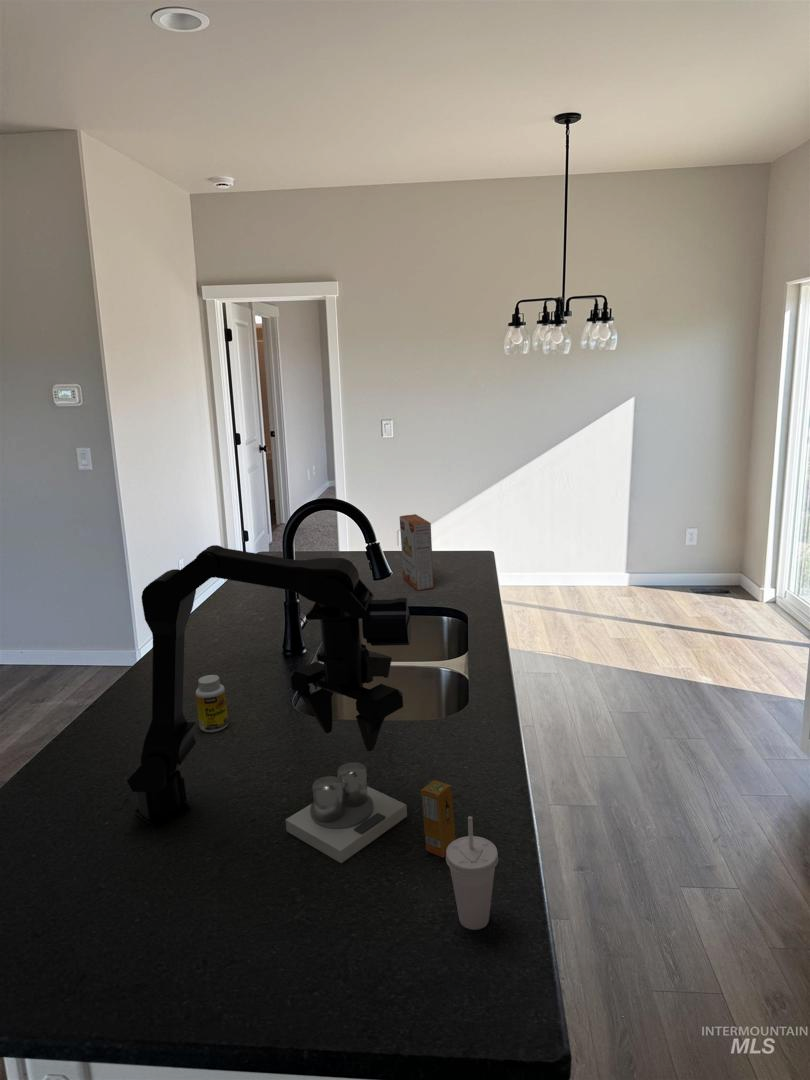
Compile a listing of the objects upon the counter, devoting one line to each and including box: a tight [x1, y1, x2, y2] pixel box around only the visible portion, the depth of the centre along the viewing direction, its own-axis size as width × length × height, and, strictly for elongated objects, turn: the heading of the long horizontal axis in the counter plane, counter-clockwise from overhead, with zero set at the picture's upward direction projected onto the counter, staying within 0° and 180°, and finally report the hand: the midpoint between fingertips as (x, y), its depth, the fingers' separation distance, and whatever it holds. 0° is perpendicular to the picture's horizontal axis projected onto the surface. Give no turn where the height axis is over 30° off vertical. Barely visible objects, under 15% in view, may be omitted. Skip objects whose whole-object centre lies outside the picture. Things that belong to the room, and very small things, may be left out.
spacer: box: [312, 775, 344, 823], centre depth 112 cm, size 4×4×5 cm
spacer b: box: [337, 762, 368, 807], centre depth 115 cm, size 4×4×5 cm
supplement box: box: [420, 779, 457, 859], centre depth 106 cm, size 3×3×10 cm
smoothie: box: [445, 815, 499, 931], centre depth 92 cm, size 6×6×14 cm
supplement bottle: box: [195, 674, 229, 733], centre depth 146 cm, size 6×6×10 cm
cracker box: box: [399, 513, 435, 591], centre depth 231 cm, size 14×6×21 cm, turn 17°
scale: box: [285, 785, 408, 864], centre depth 114 cm, size 14×12×3 cm
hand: (349, 741), depth 114 cm, fingers open, 9 cm apart
